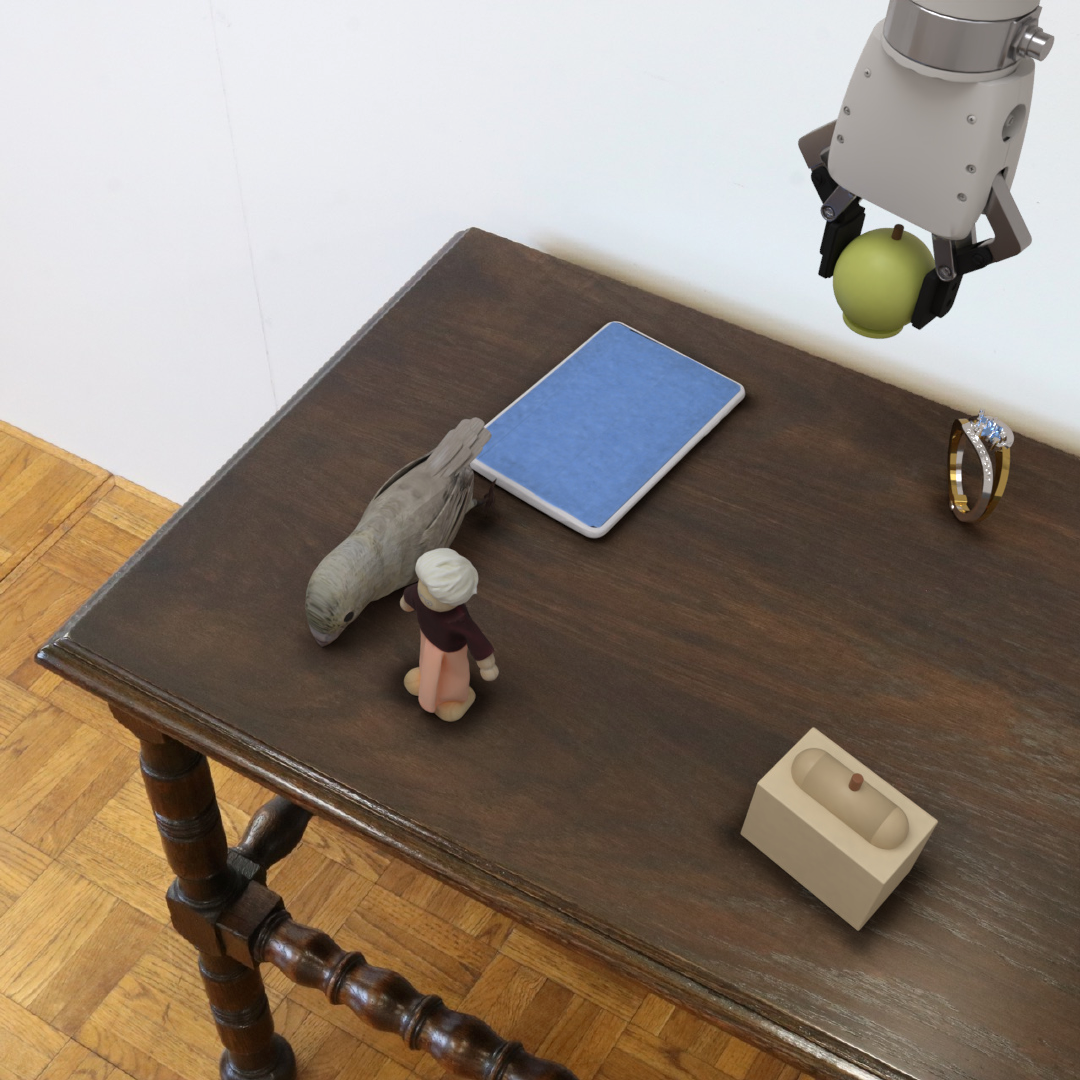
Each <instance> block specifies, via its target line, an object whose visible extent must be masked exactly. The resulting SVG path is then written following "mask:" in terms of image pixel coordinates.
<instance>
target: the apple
mask: <svg viewBox="0 0 1080 1080" xmlns="http://www.w3.org/2000/svg"><path fill="white" fill-rule="evenodd" d="M934 268H935V260H934V255H933V254H932V251H931V250H930V248H929V247H928V246H927V245H926V244H925V242H924V241H922V240H921V239H920V238H919V237H918V236H917V235H915V234H913V233H912V232H910V231H907V230H905V226H904V224H901V223H896V224H894V226H893V227H879V228H875V229H871V230H868V231H866V232H864V233H861V235H860V236H858V237H857V238H855V239H854V240H853V241H852V242H850V243H849V244H848V245H847V246H846V248H845V249H844V250H843V252H842V253H841V255H840V256H839V258H838V260H837V263H836V266H835V269H834V273H833V276H832V290H833V295H834V298H835V300H836V301H835V302H836V303H837V305H838V306H839V309H840V310H841V312H842V320H843V323H844V324H845V326H846V327H847V328H848V329H849V330H851V331H852V332H854V333H855V334H857V335H859V336H861V337H865V338H868V339H873V340H883V339H884V340H885V339H890V338H893V337H896V336H897V335H898V334H900V333H901V332H902V331H903V329H904V327H905V326H907V325H909V324H912V323H911V322H910V321H911V318H912V315H913V312H914V308H915V305H916V302H917V299H918V296H919V292H920V289H921V286H922V283H923V279H924V277H925V275H926V274H927V273H928V272H930V271H931V270H932V269H934Z"/></svg>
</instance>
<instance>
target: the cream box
mask: <svg viewBox="0 0 1080 1080" xmlns="http://www.w3.org/2000/svg"><path fill="white" fill-rule="evenodd" d="M754 789H755V790H754V792H753V795H752V798H751V801H750V804H749V807H748V810H747V812H746V816H745V819H744V822H743V824H742V827H741V829H740V835H741V836H742V837H743V838H744V839H746V840H747V841H748V842H749V843H750V844H752V845H753V846H754V847H755V848H756V849H758V850H759V851H760V852H762V854H764V855H765V856H766V857H768V858H769V859H770V860H771V861H773V863H774V864H776V865H777V866H778V867H780V868H781V869H782V870H783V871H785V873H787V874H788V875H789V876H790V877H792V878H793V879H794V880H795V881H796V882H798V884H800V885H801V886H803V887H804V888H805V889H806V890H808V891H809V893H811V894H812V895H814V896H815V897H816V898H817V899H818V900H820V901H821V902H822V903H823V904H824V905H825V906H827V907H828V908H829V909H831V910H832V911H833V912H834V913H835V914H836V915H838V916H839V917H840V918H841V919H843V920H844V921H845V922H846V923H847V924H849V925H850V926H851V927H852V928H853V929H855V930H856V931H857V932H859V931H860V930H861V929H863V927H864V926H865V925H866V924H867V923H868V921H869V920H870V919H871V918H872V917H873V915H874V914H875V913H876V912H877V910H878V909H880V907H881V906H882V905H883V903H884V902H885V901H886V900H887V899H888V898H889V896H891V894H892V893H893V892H894V890H895V889H896V888H897V887H898V886H899V885H900V883H901V882H902V881H903V880H904V879H905V878H906V876H907V875H908V874H909V873H910V872H911V870H912V868H913V867H914V865H915V863H916V862H917V860H918V858H919V856H920V855H921V853H922V851H923V850H924V847H925V846H926V844H927V842H928V840H929V839H930V838H931V836H932V834H933V832H934V830H935V828H936V826H937V825H938V823H939V821H938V819H936V818H935V817H934V816H932V815H931V814H929V813H928V812H927V811H926V810H924V809H923V808H922V807H920V806H919V805H918V804H916V803H915V802H914V801H913V800H911V799H910V798H908V797H907V796H906V795H904V794H903V793H901V792H900V791H899V790H898V789H897V788H896V787H894V786H893V785H891V784H890V783H889V782H887V781H886V780H884V779H883V778H882V777H880V776H879V775H878V774H877V773H875V772H874V771H873V770H871V769H870V768H869V767H868V766H866V765H864V764H863V763H862V762H861V761H860V760H858V759H857V758H856V757H854V756H852V755H851V753H849V752H848V751H846V750H845V749H843V748H842V747H841V746H839V745H838V744H837V743H835V741H833V740H831V738H829V737H827V736H826V735H825V734H824V733H822V732H821V731H820V730H818V729H817V728H816V727H813V726H812V727H811V728H810V729H809V730H808V731H807V732H806V733H805V734H804V735H803V736H802V737H801V738H800V739H799V740H798V741H797V742H796V743H795V745H793V746H792V747H791V748H790V749H789V750H788V751H787V752H786V753H785V754H784V755H783V756H782V757H781V758H780V759H779V760H778V761H777V762H776V764H774V765H773V767H771V768H770V769H769V770H768V771H767V772H766V773H765V774H764V776H763V777H761V778H760V779H759V780H758V782H757V784H756V786H755V788H754Z"/></svg>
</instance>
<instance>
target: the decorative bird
mask: <svg viewBox="0 0 1080 1080" xmlns="http://www.w3.org/2000/svg"><path fill="white" fill-rule="evenodd" d="M484 426H485V421H483V419H481V418H479V417H475V416H474V417H472V418H471V419H469V418H463V419H462V420H460V422H459V423H458V424H457V426H455V428H453V429H450V430H449V431H448V432H447V433H446V434H445V436H444V437H443V438H442V440H441V441H440V442H439V443H438V445H437V446H436V447H435V448H433V449H432V450H431V451H429V452H427V453H425V454H424V455H421V456H419V457H417V458H416V459H413V460H412V461H410V462H409V463H407V464H405V465H404V466H403V467H401V468H399V470H397V471H395V472H394V473H393V474H392V475H391V476H390V477H389V478H388V479H387V480H386V481H385V482H384V483H383V484H382V485H381V487H380V488H379V489H378V490H377V491H376V493H375V494H374V496H373V497H372V498H371V501H369V503H368V505H367V507H366V508H365V510H364V512H363V513H362V515H361V518H360V520H359V522H358V523H357V525H356V527H355V529H354V530H353V531H352V532H351V533H350V534H349V536H347V537H346V538H345V539H344V540H343V541H341V542H340V543H339V544H338V545H337V546H336V547H335V548H334V549H332V550H331V551H330V552H329V553H328V554H327V555H325V556H324V558H323V559H322V560H321V561H320V562H319V564H318V565H317V567H316V568H315V569H314V570H313V572H312V574H311V576H310V578H309V581H308V584H307V588H306V591H305V604H304V609H305V616H306V620H307V623H308V627H309V630H310V632H311V634H312V636H313V638H314V640H315V641H316V642H317V644H318V645H319V646H320V647H326V646H328V645H330V644H331V643H333V642H334V641H335V640H336V639H338V638H339V636H340V635H341V634H342V633H343V631H344V630H345V629H346V628H347V627H348V625H350V624H351V623H352V622H354V621H355V620H356V619H357V618H358V617H359V615H360V614H361V613H362V612H363V610H364V609H365V608H366V607H367V606H368V604H370V603H371V602H374V601H375V602H376V601H378V600H380V599H381V598H383V597H386V596H390V594H392V593H394V592H395V591H398V590H400V589H402V588H404V587H408V586H411V585H413V584H415V583H416V582H418V581H419V578H418V576H417V574H416V571H415V567H416V563H417V560H418V559H419V557H421V556H422V555H423V554H424V553H426V552H429V551H432V550H435V549H439V548H449V549H450V547H451V545H452V544H453V542H454V540H455V538H456V536H457V534H458V532H459V530H460V528H461V525H462V523H463V521H464V519H465V516H466V514H467V513H468V512H469V511H470V510H471V509H473V508H479V507H481V506H483V505H484V507H483V516H484V518H486V517H487V513H488V510H489V508H490V510H491V513H492V514H493V516H495V517H496V518H497V519H499V520H501V518H500V516H499V515H498V513H497V510H496V495H495V494H494V491H495V487H496V484H495V483H496V480H497V478H496V479H495V480H494V481H493V482H492V483H491V484H490V487H489V490H488V492H486V493H485V495H484V496H483V498H481V499H480V500H477V499H476V498H473V496H474V495H473V494H474V484H475V474H474V473H475V472H474V470H473V469H472V468H471V467H470V463H471V462H472V461H473V460H474V459H475V458H476V457H477V456H478V455H479V454H480V452H481V451H482V450H483V446H484V445H485V444H486V443H487V442H488V441H489V440H490V438H491V436H492V435H491V433H490V431H488V430H487V429H486V428H484Z"/></svg>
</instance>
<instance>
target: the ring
mask: <svg viewBox="0 0 1080 1080" xmlns="http://www.w3.org/2000/svg"><path fill="white" fill-rule="evenodd" d="M985 414H986V409H985V408H981V407H980V408H979V412H978V413H977V415H973V416H971V417H969V418H965V417H964V418H955V419H954V420H953V422H952V423H951V424H952V425H951V428H950V432H949V439H948V445H947V457H946V458H947V460H946V474H947V475H946V476H947V478H946V479H947V488H948V489H947V490H948V497H949V501H948V502H949V503H948V505H949V509H950V511H953V513H954V515H955V518H956V519H958V520H959V521H960V522H964V523H965V522H966V523H974V524H975V523H976V524H977V523H981V522H983V521H985V520H986V519H988V518H989V517H990V515H992V513H993V512H994V511H995V509H996V508H997V506H998V504H999V503H1000V501H1001V499H1002V497H1003V494H1004V492H1005V490H1006V487H1007V482H1008V478H1009V474H1010V466H1011V447H1012V446H1013V443H1014V442H1015V441H1014V440H1015V436H1014V433H1013V431H1012V428H1010V427H1009V426H1008V425H1007V424H1006V423H1005V422H1004V421H1002V420H1000V419H999V416H991V415H985ZM967 441H968V442H969V443H970V445H971V447H972V448H973V450H974V452H975V454H976V456H977V459H978V461H979V464H980V470H981V485H980V491H979V495H978V498H977V501H976V503H975V505H974V506H973V507H972V509H971V510H970V508H969V507H968V505H967V504H968V497H967V495H966V494H964V491H963V484H962V465H963V455H964V451H965V446H966V443H967ZM987 450H988V451H990V452H991V451H994V459H995V470H994V474H993V464H992V461H991V458H990V455H989V453H988V451H987Z"/></svg>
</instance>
